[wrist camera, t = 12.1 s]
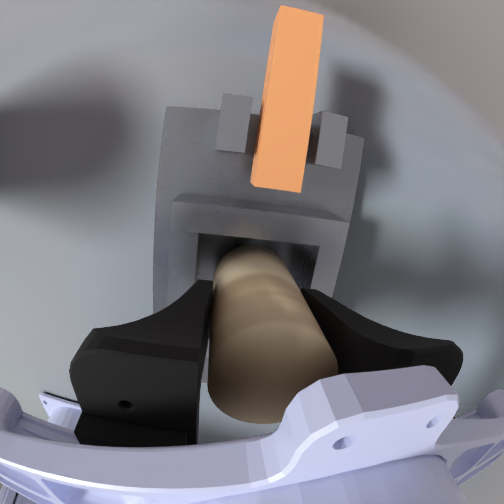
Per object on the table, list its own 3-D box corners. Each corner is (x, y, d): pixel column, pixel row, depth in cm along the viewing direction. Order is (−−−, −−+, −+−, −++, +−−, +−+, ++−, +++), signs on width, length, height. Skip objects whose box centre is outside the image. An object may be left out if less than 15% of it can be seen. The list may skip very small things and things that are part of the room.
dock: (301, 375, 19) (319, 428, 15) (159, 367, 18) (146, 422, 13) (356, 138, 14) (407, 136, 10) (170, 109, 13) (144, 89, 8)
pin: (290, 187, 11) (300, 192, 10) (250, 182, 11) (254, 186, 10) (311, 30, 9) (323, 15, 8) (273, 21, 9) (281, 5, 7)
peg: (283, 313, 15) (322, 418, 8) (212, 312, 14) (209, 424, 8) (292, 246, 14) (351, 328, 7) (214, 242, 13) (206, 330, 6)
